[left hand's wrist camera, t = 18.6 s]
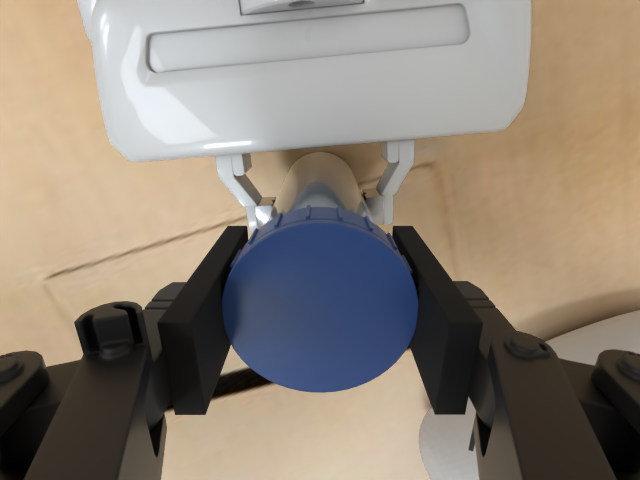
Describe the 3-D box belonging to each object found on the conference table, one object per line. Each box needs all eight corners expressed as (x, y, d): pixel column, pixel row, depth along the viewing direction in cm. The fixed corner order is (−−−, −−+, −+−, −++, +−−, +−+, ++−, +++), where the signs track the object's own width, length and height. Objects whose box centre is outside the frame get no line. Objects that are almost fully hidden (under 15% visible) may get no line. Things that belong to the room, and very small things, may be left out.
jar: (271, 197, 26) (207, 326, 11) (309, 136, 25) (293, 193, 10) (329, 233, 27) (341, 395, 12) (369, 177, 26) (438, 285, 11)
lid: (366, 377, 13) (372, 413, 12) (213, 332, 13) (198, 364, 11) (438, 240, 11) (457, 262, 10) (261, 177, 11) (251, 190, 9)
